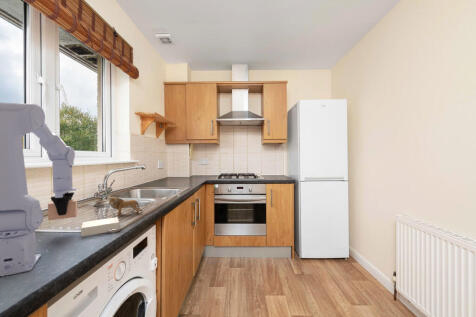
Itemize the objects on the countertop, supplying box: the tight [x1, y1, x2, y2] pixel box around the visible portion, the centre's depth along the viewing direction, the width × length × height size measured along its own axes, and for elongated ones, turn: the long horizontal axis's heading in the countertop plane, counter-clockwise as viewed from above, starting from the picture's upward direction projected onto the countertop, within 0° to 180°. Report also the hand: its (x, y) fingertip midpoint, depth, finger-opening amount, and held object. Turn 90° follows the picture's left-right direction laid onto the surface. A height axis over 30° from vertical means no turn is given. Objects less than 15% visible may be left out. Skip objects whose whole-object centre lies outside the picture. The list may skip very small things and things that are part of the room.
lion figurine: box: [108, 196, 143, 216], centre depth 105 cm, size 15×5×9 cm, turn 119°
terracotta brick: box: [47, 198, 79, 221], centre depth 81 cm, size 4×8×6 cm, turn 120°
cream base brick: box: [80, 216, 120, 237], centre depth 83 cm, size 8×12×4 cm, turn 123°
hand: (63, 213), depth 81 cm, fingers closed on terracotta brick, 4 cm apart
